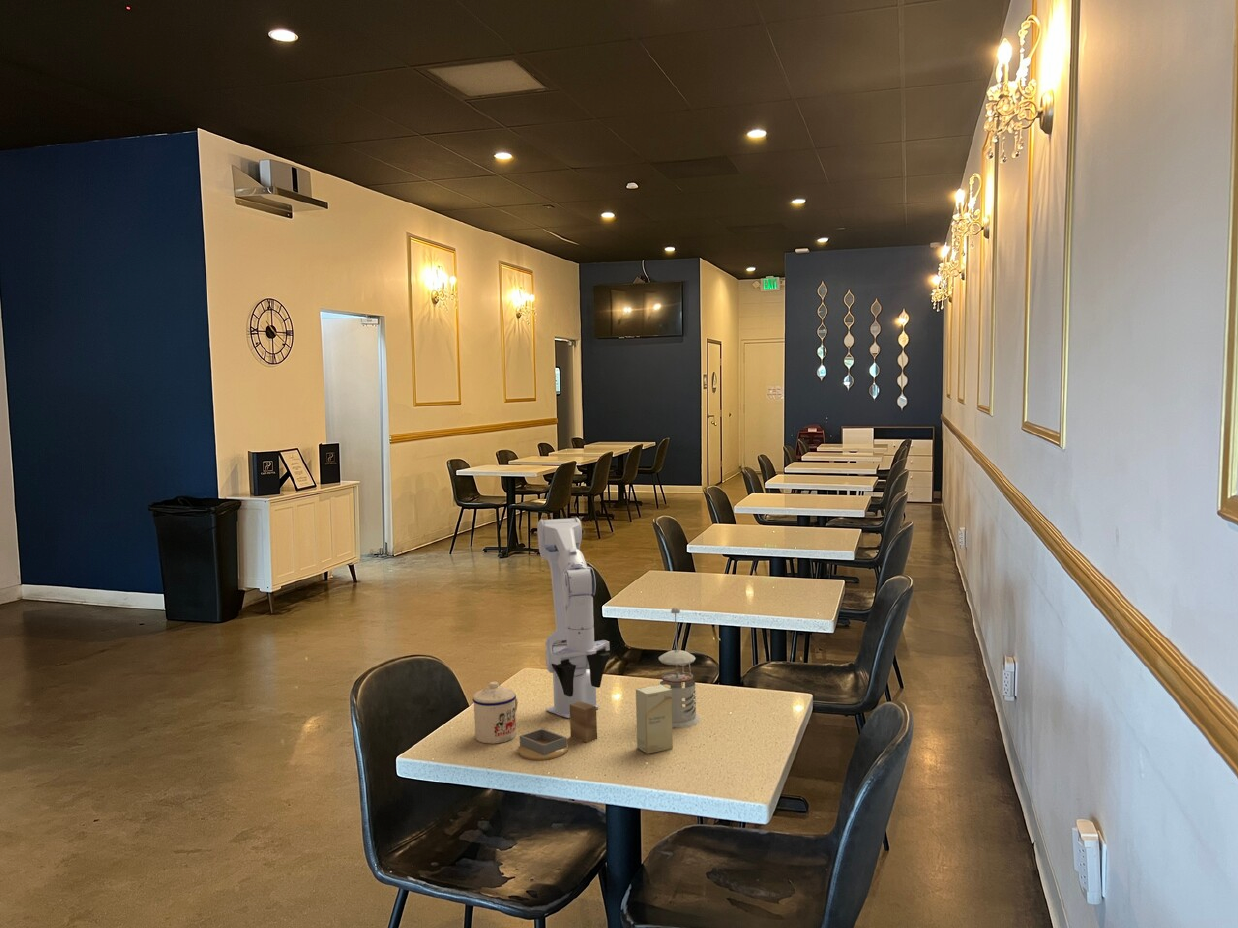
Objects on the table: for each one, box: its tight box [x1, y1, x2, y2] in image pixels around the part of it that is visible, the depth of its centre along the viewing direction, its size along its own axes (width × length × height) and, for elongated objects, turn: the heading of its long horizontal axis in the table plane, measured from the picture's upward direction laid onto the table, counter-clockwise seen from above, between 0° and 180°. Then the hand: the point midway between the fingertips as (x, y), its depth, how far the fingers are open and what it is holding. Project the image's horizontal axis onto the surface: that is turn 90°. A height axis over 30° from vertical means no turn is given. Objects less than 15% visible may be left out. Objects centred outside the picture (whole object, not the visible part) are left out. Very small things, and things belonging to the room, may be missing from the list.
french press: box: [657, 606, 702, 728], centre depth 197 cm, size 10×12×25 cm
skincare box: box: [635, 684, 674, 754], centre depth 181 cm, size 6×4×12 cm
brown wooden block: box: [569, 701, 598, 744], centre depth 188 cm, size 3×5×7 cm, turn 44°
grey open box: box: [518, 728, 569, 761], centre depth 182 cm, size 10×10×3 cm
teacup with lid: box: [472, 681, 519, 744], centre depth 191 cm, size 12×9×12 cm
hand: (582, 690), depth 187 cm, fingers open, 7 cm apart
